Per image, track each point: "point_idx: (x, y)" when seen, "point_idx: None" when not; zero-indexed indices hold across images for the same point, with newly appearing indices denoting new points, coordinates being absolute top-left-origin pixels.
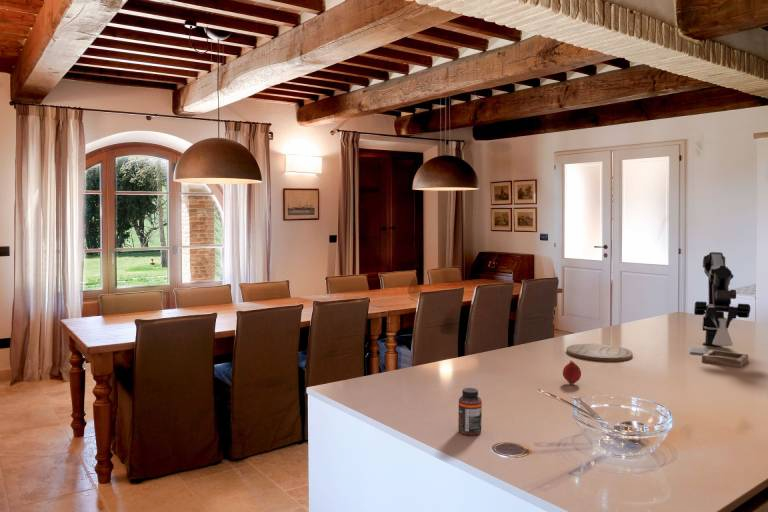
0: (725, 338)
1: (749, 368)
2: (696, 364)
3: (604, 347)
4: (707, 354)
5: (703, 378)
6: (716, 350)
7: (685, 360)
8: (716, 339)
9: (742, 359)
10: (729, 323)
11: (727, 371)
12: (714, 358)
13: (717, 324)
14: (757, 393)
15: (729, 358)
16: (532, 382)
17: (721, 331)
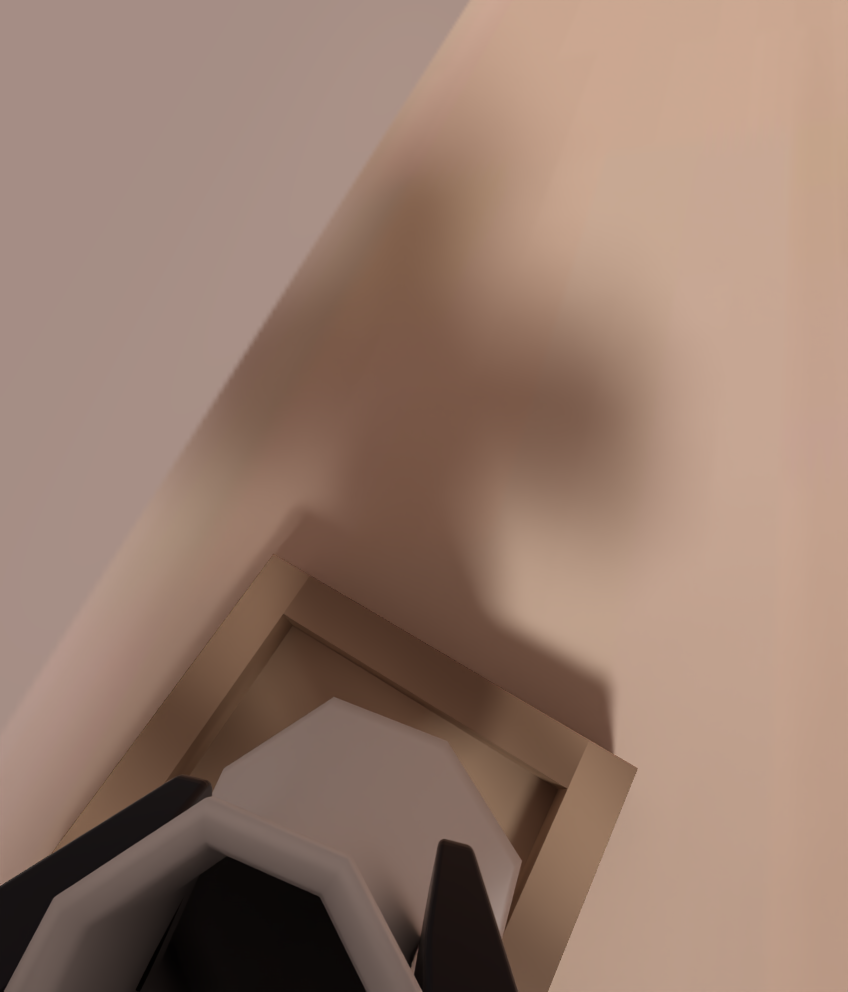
0: (328, 736)
1: (217, 561)
2: (687, 631)
3: None
4: (557, 840)
5: (685, 228)
6: None
7: (794, 816)
8: (466, 824)
9: (217, 631)
10: (67, 848)
11: (462, 424)
12: (502, 692)
13: (469, 883)
14: (456, 51)
15: (350, 644)
16: None
17: (372, 808)
